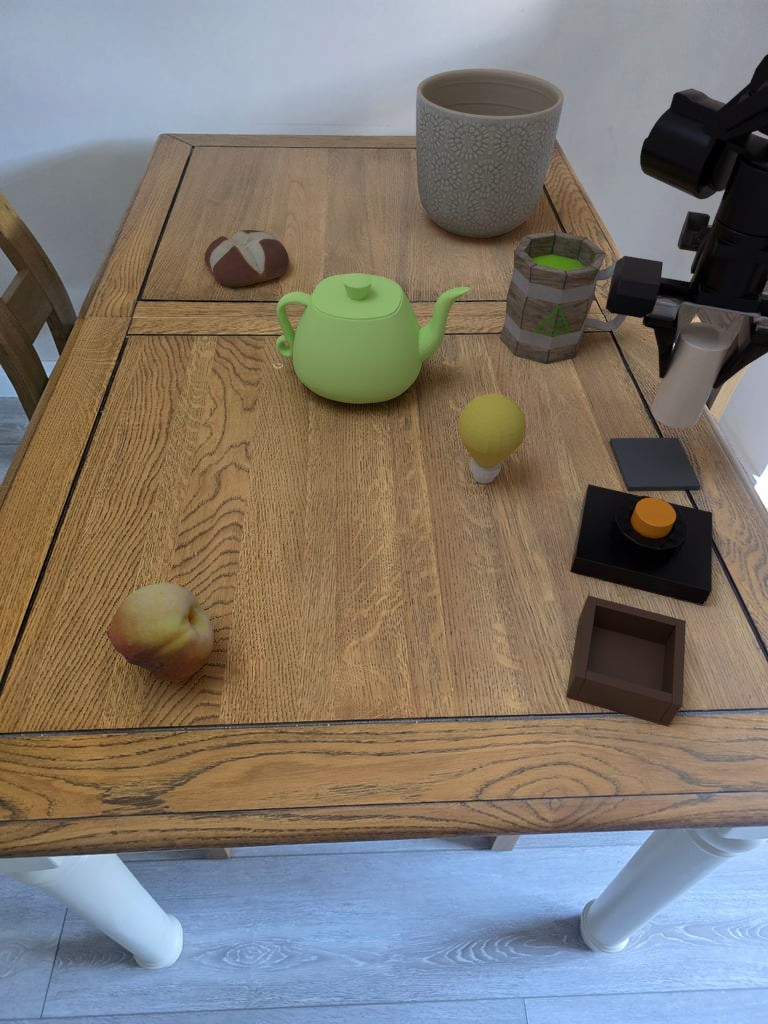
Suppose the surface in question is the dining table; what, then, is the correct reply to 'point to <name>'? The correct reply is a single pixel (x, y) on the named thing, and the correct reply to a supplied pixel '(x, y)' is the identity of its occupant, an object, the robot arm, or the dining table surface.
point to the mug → (553, 296)
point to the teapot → (360, 337)
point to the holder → (628, 661)
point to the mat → (654, 464)
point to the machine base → (644, 547)
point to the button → (653, 518)
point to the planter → (484, 147)
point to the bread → (246, 258)
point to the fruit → (163, 631)
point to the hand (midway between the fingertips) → (688, 380)
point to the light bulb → (490, 433)
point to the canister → (691, 374)
